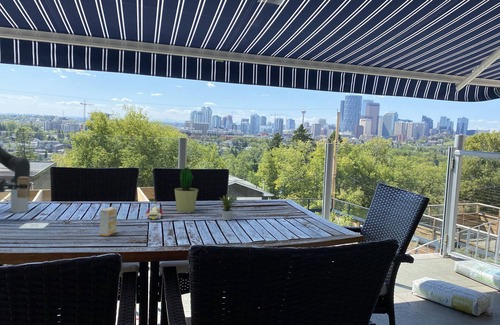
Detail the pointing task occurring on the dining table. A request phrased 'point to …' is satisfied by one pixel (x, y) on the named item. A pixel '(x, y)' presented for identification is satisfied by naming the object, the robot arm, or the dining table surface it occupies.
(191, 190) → the potted cactus
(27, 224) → the card
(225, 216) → the house plant
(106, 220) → the supplement box
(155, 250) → the dining table surface
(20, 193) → the walnut block
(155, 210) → the cat figure
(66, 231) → the dining table surface
